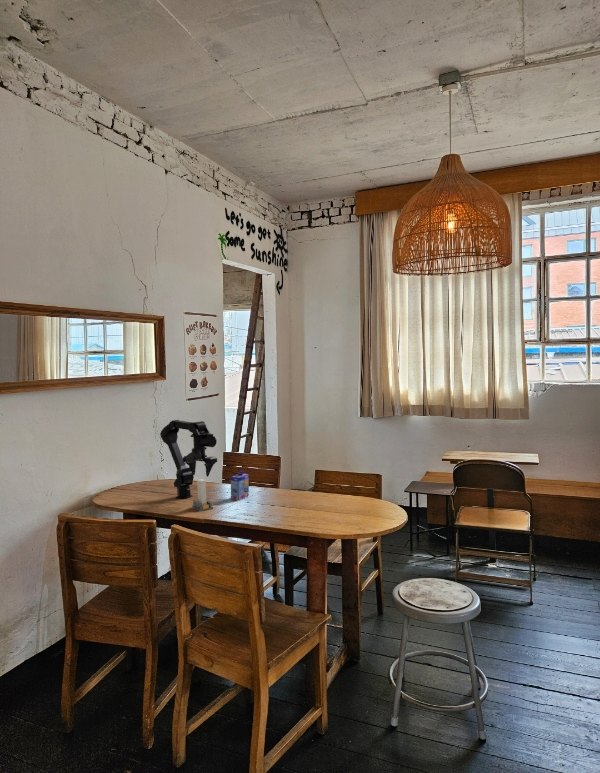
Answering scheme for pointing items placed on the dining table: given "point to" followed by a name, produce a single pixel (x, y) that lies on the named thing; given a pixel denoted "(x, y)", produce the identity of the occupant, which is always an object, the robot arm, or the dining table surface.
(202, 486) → the panel
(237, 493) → the ink cartridge box
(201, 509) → the rack
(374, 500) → the dining table surface
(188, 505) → the dining table surface
